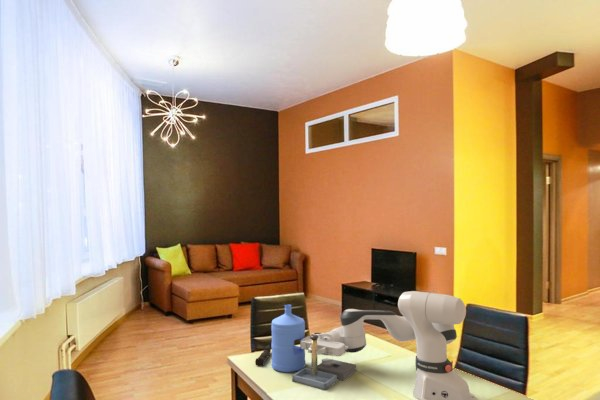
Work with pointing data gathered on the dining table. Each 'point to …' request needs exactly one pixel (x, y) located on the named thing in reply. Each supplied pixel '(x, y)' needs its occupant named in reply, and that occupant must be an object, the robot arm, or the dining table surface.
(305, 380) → the tray
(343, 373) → the block
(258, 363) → the hand tool
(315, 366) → the lock pin
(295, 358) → the water jug
